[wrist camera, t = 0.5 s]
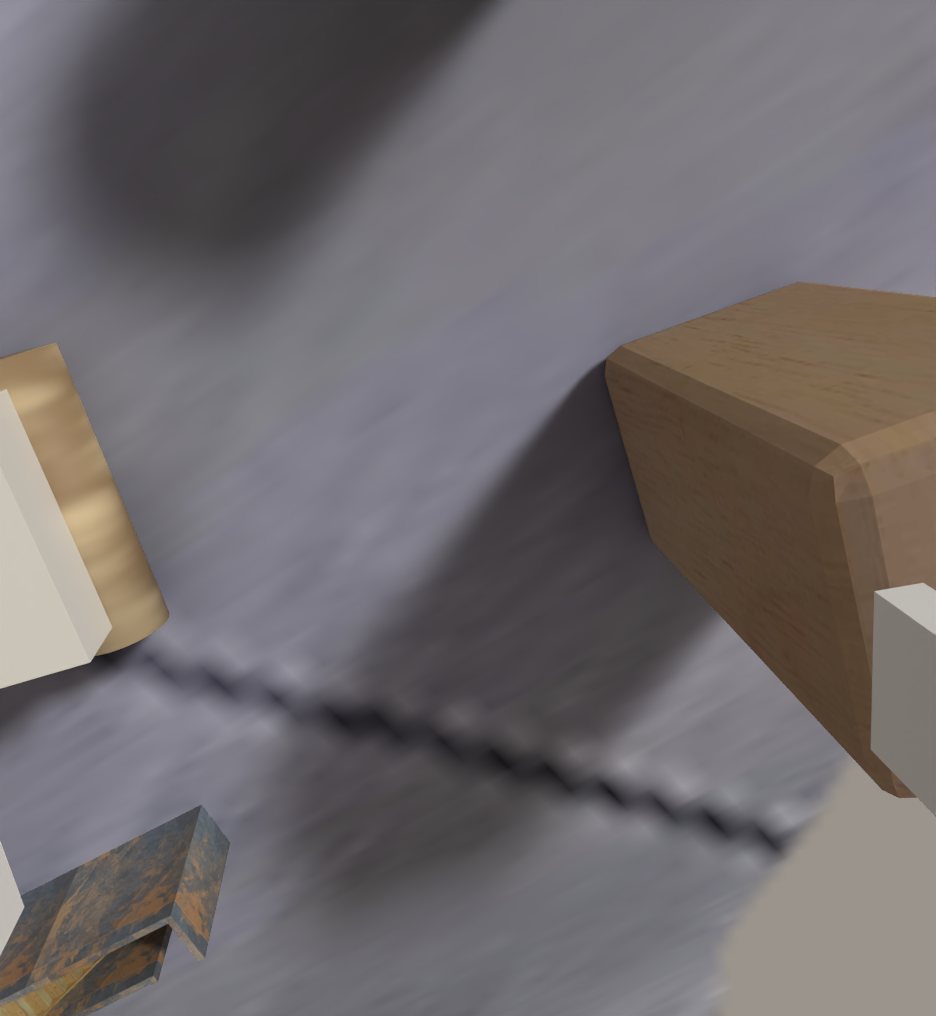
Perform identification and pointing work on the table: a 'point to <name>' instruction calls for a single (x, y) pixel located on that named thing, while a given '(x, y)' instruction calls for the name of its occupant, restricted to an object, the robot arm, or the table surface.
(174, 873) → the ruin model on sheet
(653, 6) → the table surface
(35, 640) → the slab
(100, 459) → the roller bed
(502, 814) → the table surface
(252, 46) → the table surface
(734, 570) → the block
